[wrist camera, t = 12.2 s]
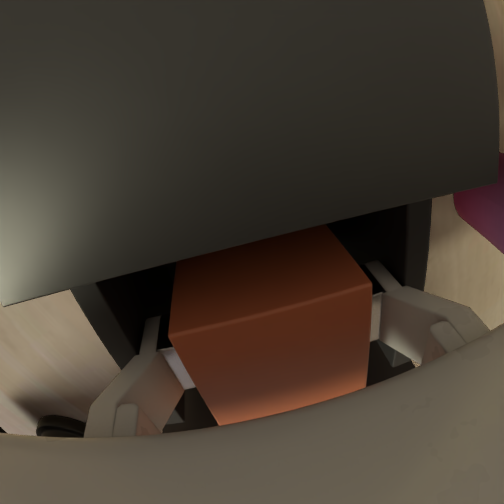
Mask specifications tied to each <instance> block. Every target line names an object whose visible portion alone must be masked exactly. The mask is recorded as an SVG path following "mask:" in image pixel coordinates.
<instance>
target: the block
mask: <svg viewBox="0 0 504 504" xmlns="http://www.w3.org/2000/svg"><path fill="white" fill-rule="evenodd" d="M371 315H372V282H371V281H370V280H369V278H368V277H367V276H366V274H365V273H364V272H363V270H362V269H361V268H360V267H359V265H358V264H357V263H356V261H355V260H354V259H353V258H352V256H351V255H350V254H349V253H348V251H347V250H346V249H345V248H344V246H343V245H342V244H341V243H340V241H339V240H338V239H337V238H336V236H335V235H334V234H333V233H332V231H331V230H330V229H329V228H328V227H327V225H326V224H323V225H319V226H315V227H311V228H307V229H303V230H299V231H295V232H291V233H287V234H283V235H279V236H275V237H271V238H267V239H263V240H259V241H255V242H251V243H247V244H243V245H239V246H235V247H231V248H227V249H223V250H219V251H215V252H211V253H207V254H203V255H199V256H195V257H192V258H188V259H184V260H180V261H177V262H176V269H175V277H174V285H173V293H172V302H171V311H170V320H169V330H168V337H169V339H170V341H171V343H172V345H173V347H174V349H175V351H176V352H177V354H178V356H179V358H180V360H181V362H182V363H183V365H184V367H185V369H186V371H187V372H188V374H189V376H190V378H191V379H192V381H193V383H194V385H195V386H196V388H197V390H198V391H199V393H200V395H201V397H202V398H203V400H204V402H205V403H206V405H207V406H208V408H209V410H210V411H211V413H212V415H213V416H214V418H215V419H216V421H217V423H218V424H219V426H221V425H226V424H232V423H237V422H242V421H247V420H252V419H257V418H261V417H266V416H270V415H274V414H278V413H282V412H286V411H290V410H294V409H298V408H302V407H305V406H309V405H312V404H316V403H319V402H323V401H326V400H329V399H332V398H336V397H339V396H342V395H345V394H348V393H351V392H354V391H357V390H360V389H362V388H365V387H366V382H367V372H368V361H369V349H370V334H371Z"/></svg>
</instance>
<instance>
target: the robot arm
mask: <svg viewBox="0 0 504 504" xmlns="http://www.w3.org/2000/svg"><path fill="white" fill-rule="evenodd" d="M359 267H360V268H361V269H362V270H363V272H364V273H365V274H366V276H367V277H368V278H369V280H370V281H371V282H372V315H371V334H370V342H371V341H374V340H377V339H379V340H380V341H382V342H383V343H385V344H387V345H388V346H390V347H392V348H393V349H395V350H397V351H398V352H400V353H402V354H403V355H405V356H407V357H409V358H410V359H412V360H414V361H415V362H417V363H419V364H420V365H421V366H418V367H416V368H414V369H411V370H409V371H407V372H404V373H402V374H399V375H397V376H394V377H392V378H389V379H387V380H384V381H382V382H379V383H376V384H374V385H371V386H368V387H365V388H362V389H360V390H357V391H354V392H351V393H348V394H345V395H342V396H339V397H336V398H332V399H329V400H326V401H323V402H319V403H316V404H312V405H309V406H305V407H302V408H298V409H294V410H290V411H286V412H282V413H278V414H274V415H270V416H266V417H261V418H257V419H252V420H247V421H242V422H237V423H232V424H226V425H221V426H215V427H209V428H202V429H196V430H188V431H181V432H172V433H163V434H162V433H161V431H162V429H163V428H164V426H165V424H166V422H167V421H168V419H169V417H170V415H171V414H172V412H173V410H174V409H175V407H176V405H177V403H178V402H179V400H180V398H181V396H182V395H183V393H184V390H185V389H190V388H195V387H196V386H195V385H194V383H193V381H192V379H191V378H190V376H189V374H188V372H187V371H186V369H185V367H184V365H183V363H182V362H181V360H180V358H179V356H178V354H177V352H176V351H175V349H174V347H173V345H172V343H171V341H170V339H169V337H168V330H169V320H170V314H165V315H162V316H161V315H160V316H156V317H151V318H147V320H146V321H145V325H144V330H143V336H142V341H141V347H140V352H139V355H135V356H134V357H133V358H132V359H131V360H130V362H129V363H128V364H127V365H126V366H125V367H124V368H123V369H122V371H121V372H120V373H119V374H118V375H117V376H116V377H115V378H114V379H113V381H112V382H111V383H110V384H109V385H108V386H107V387H106V388H105V390H104V391H103V392H102V393H101V394H100V395H99V396H98V397H97V399H96V400H95V401H94V402H93V403H92V404H91V405H90V409H89V413H88V418H87V423H86V427H85V432H84V438H67V437H42V436H28V435H17V434H7V433H0V504H504V323H503V324H501V325H499V326H498V327H496V328H494V329H493V330H491V331H490V330H489V328H488V327H487V326H486V325H485V324H484V323H483V322H482V320H481V319H480V318H479V317H478V316H477V315H476V314H475V313H474V312H473V311H472V309H471V308H470V307H467V306H464V305H461V304H458V303H456V302H453V301H450V300H447V299H444V298H441V297H438V296H435V295H432V294H429V293H426V292H424V291H421V290H418V289H415V288H412V287H409V286H404V287H402V286H401V285H400V284H399V283H398V281H397V280H396V279H395V278H394V277H393V276H392V275H391V273H390V272H389V271H388V270H387V269H386V268H385V267H384V266H383V264H382V263H381V262H380V261H379V260H374V261H371V262H367V263H364V264H362V265H360V266H359Z"/></svg>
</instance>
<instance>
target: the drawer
mask: <svg viewBox="0 0 504 504" xmlns="http://www.w3.org/2000/svg"><path fill="white" fill-rule="evenodd" d="M431 207H432V198H431V199H427V200H423V201H418V202H414V203H410V204H406V205H402V206H397V207H393V208H389V209H385V210H381V211H377V212H372V213H368V214H364V215H360V216H356V217H352V218H348V219H344V220H340V221H335V222H331V223H327V224H326V225H327V227H328V228H329V229H330V230H331V231H332V233H333V234H334V235H335V236H336V238H337V239H338V240H339V241H340V243H341V244H342V245H343V246H344V248H345V249H346V250H347V251H348V253H349V254H350V255H351V256H352V258H353V259H354V260H355V261H356V263H357V264H358V265H359V266H360V265H362V264H364V263H367V262H371V261H374V260H379V261H380V262H381V263H382V264H383V266H384V267H385V268H386V269H387V270H388V271H389V272H390V273H391V275H392V276H393V277H394V278H395V279H396V280H397V281H398V283H399V284H400V285H401V286H402V287H404V286H409V287H412V288H415V289H418V290H421V291H424V286H425V278H426V270H427V261H428V251H429V240H430V226H431ZM176 262H177V261H176ZM176 262H172V263H168V264H164V265H160V266H157V267H153V268H149V269H145V270H141V271H137V272H133V273H130V274H126V275H122V276H118V277H114V278H110V279H107V280H103V281H99V282H95V283H91V284H88V285H84V286H80V287H76V288H73V289H70V290H71V292H72V294H73V295H74V297H75V299H76V301H77V302H78V304H79V306H80V307H81V309H82V311H83V312H84V314H85V316H86V317H87V319H88V321H89V322H90V324H91V325H92V327H93V329H94V330H95V332H96V333H97V335H98V336H99V338H100V340H101V341H102V343H103V344H104V346H105V347H106V349H107V350H108V352H109V353H110V354H111V356H112V357H113V359H114V360H115V362H116V363H117V365H118V366H119V367H120V369H121V370H122V369H123V368H124V367H125V366H126V365H127V364H128V363H129V362H130V360H131V359H132V358H133V357H134V356H135V355H139V352H140V347H141V341H142V336H143V330H144V325H145V321H146V320H147V318H151V317H156V316H160V315H161V316H162V315H165V314H170V311H171V302H172V293H173V285H174V277H175V269H176ZM414 368H416V367H415V366H414V364H413V363H412V361H411V359H410V358H409V357H407V356H405V355H403V354H402V353H400V352H398V351H397V350H395V349H393V348H392V347H390V346H388V345H387V344H385V343H383V342H382V341H380V340H379V339H377V340H374V341H371V342H370V349H369V361H368V372H367V382H366V387H368V386H371V385H374V384H376V383H379V382H382V381H384V380H387V379H389V378H392V377H394V376H397V375H399V374H402V373H404V372H407V371H409V370H411V369H414ZM215 426H219V424H218V423H217V421H216V419H215V418H214V416H213V415H212V413H211V411H210V410H209V408H208V406H207V405H206V403H205V402H204V400H203V398H202V397H201V395H200V393H199V391H198V390H197V388H196V387H195V388H190V389H185V390H184V393H183V395H182V396H181V398H180V400H179V402H178V403H177V405H176V407H175V409H174V410H173V412H172V414H171V415H170V417H169V419H168V421H167V422H166V424H165V426H164V428H163V432H162V434H163V433H172V432H181V431H188V430H196V429H202V428H209V427H215Z"/></svg>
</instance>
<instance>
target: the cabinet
mask: <svg viewBox="0 0 504 504" xmlns="http://www.w3.org/2000/svg"><path fill="white" fill-rule="evenodd" d="M498 166H499V102H498V87H497V76H496V67H495V59H494V52H493V46H492V40H491V34H490V29H489V24H488V19H487V14H486V10H485V6H484V2H483V0H0V302H1V304H2V306H3V307H6V306H9V305H13V304H17V303H20V302H24V301H28V300H31V299H35V298H39V297H43V296H46V295H50V294H54V293H57V292H61V291H65V290H69V289H73V288H76V287H80V286H84V285H88V284H91V283H95V282H99V281H103V280H107V279H110V278H114V277H118V276H122V275H126V274H130V273H133V272H137V271H141V270H145V269H149V268H153V267H157V266H160V265H164V264H168V263H172V262H176V261H180V260H184V259H188V258H192V257H195V256H199V255H203V254H207V253H211V252H215V251H219V250H223V249H227V248H231V247H235V246H239V245H243V244H247V243H251V242H255V241H259V240H263V239H267V238H271V237H275V236H279V235H283V234H287V233H291V232H295V231H299V230H303V229H307V228H311V227H315V226H319V225H323V224H327V223H331V222H335V221H340V220H344V219H348V218H352V217H356V216H360V215H364V214H368V213H372V212H377V211H381V210H385V209H389V208H393V207H397V206H402V205H406V204H410V203H414V202H418V201H423V200H427V199H431V198H435V197H439V196H444V195H448V194H452V193H457V192H461V191H465V190H469V189H474V188H478V187H482V186H487V185H491V184H495V183H497V181H498Z"/></svg>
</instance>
